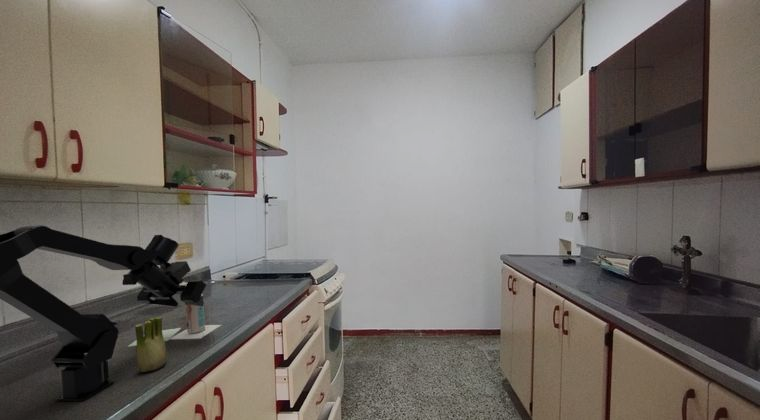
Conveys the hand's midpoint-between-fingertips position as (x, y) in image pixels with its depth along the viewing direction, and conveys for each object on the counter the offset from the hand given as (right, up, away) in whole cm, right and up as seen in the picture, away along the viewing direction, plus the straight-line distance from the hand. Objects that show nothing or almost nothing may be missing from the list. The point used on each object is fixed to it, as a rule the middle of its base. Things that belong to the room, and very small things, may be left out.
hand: (189, 305), depth 91 cm
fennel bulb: (+4, -9, -20) cm, 22 cm away
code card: (+1, -9, +2) cm, 9 cm away
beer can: (+1, -9, +2) cm, 9 cm away
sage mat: (-10, -10, 0) cm, 14 cm away
